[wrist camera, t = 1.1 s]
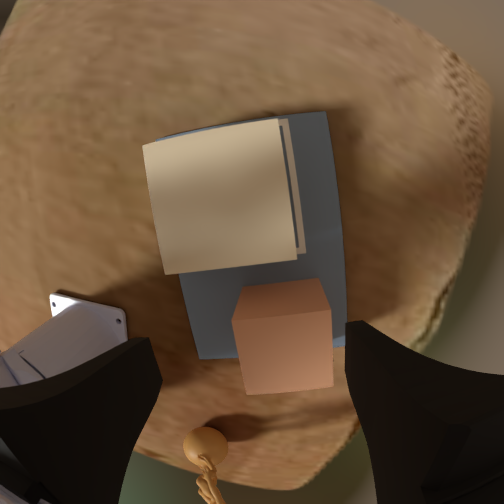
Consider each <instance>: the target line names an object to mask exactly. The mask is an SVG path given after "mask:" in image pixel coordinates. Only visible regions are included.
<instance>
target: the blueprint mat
mask: <svg viewBox="0 0 504 504" xmlns="http://www.w3.org/2000/svg"><path fill="white" fill-rule="evenodd" d="M277 118H278V123H279V129H280V136H281V142H282V148H283V155H284V162H285V168H286V175H287V182H288V189H289V197H290V204H291V212H292V219H293V227H294V235H295V244H296V252H297V260H289V261H281V262H272V263H264V264H256V265H248V266H239V267H231V268H222V269H213V270H205V271H196V272H187V273H178V274H179V278H180V283H181V287H182V292H183V296H184V300H185V305H186V309H187V313H188V317H189V321H190V325H191V329H192V333H193V337H194V341H195V344H196V348H197V352H198V356H199V359H223V358H239V356H238V351H237V346H236V341H235V336H234V331H233V326H232V321H231V320H232V317H233V314H234V311H235V308H236V305H237V302H238V299H239V296H240V293H241V290H242V287H245V286H254V285H263V284H272V283H280V282H288V281H297V280H305V279H312V278H319V280H320V283H321V285H322V288H323V290H324V293H325V295H326V298H327V300H328V303H329V305H330V308H331V317H332V342H333V348H334V347H341V346H345V323H347V298H346V277H345V260H344V246H343V234H342V223H341V213H340V204H339V195H338V187H337V179H336V171H335V164H334V157H333V150H332V144H331V138H330V132H329V126H328V120H327V115H326V111H322V112H310V113H300V114H290V115H282V116H274V117H266V118H259V119H253V120H246V121H240V122H234V123H229V124H223V125H218V126H213V127H208V128H203V129H198V130H194V131H189V132H185V133H180V134H176V135H172V136H168V137H164V138H160V139H156V142H157V141H161V140H165V139H169V138H173V137H178V136H182V135H186V134H191V133H195V132H200V131H205V130H210V129H215V128H220V127H225V126H231V125H237V124H243V123H249V122H255V121H262V120H269V119H277Z"/></svg>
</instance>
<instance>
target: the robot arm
mask: <svg viewBox="0 0 504 504" xmlns="http://www.w3.org/2000/svg"><path fill="white" fill-rule="evenodd" d="M50 303H51V309H52V315H53V317H52V318H51V319H49V320H48V321H47V322H45V323H44V324H42V325H41V326H40V327H38V328H37V329H35V330H34V331H32V332H31V333H30V334H28V335H27V336H26V337H24V338H23V339H21V340H20V341H19V342H17V343H16V344H15V345H13V346H12V347H11V348H9V349H8V350H6V351H4V352H2V353H1V351H0V504H118V502H119V497H120V492H121V488H122V484H123V480H124V476H125V472H126V469H127V466H128V463H129V460H130V456H131V454H132V451H133V448H134V446H135V444H136V441H137V439H138V437H139V435H140V433H141V431H142V429H143V427H144V425H145V423H146V421H147V419H148V417H149V415H150V413H151V411H152V409H153V407H154V405H155V403H156V401H157V398H158V395H159V392H160V388H161V385H162V381H163V379H162V376H161V374H160V371H159V368H158V365H157V362H156V359H155V356H154V353H153V350H152V346H151V343H150V340H149V338H133V339H130V340H128V337H127V327H126V315H125V312H124V311H123V310H122V309H120V308H116V307H111V306H107V305H102V304H98V303H94V302H90V301H85V300H81V299H77V298H73V297H69V296H66V295H62V294H58V293H52V294H50ZM118 319H120V320H121V322H119V320H118ZM345 374H346V378H347V383H348V388H349V392H350V395H351V398H352V401H353V404H354V407H355V409H356V412H357V415H358V418H359V421H360V423H361V426H362V429H363V432H364V435H365V438H366V441H367V445H368V448H369V453H370V458H371V463H372V469H373V475H374V482H375V488H376V496H377V504H504V375H497V374H488V373H482V372H476V371H471V370H466V369H462V368H458V367H454V366H451V365H448V364H444V363H442V362H439V361H436V360H434V359H431V358H428V357H426V356H424V355H421V354H419V353H417V352H415V351H413V350H411V349H409V348H407V347H405V346H403V345H402V344H400V343H398V342H396V341H395V340H393V339H391V338H390V337H388V336H386V335H385V334H383V333H382V332H380V331H379V330H377V329H375V328H374V327H372V326H371V325H369V324H368V323H366V322H364V321H362V320H360V321H354V322H347V323H345Z"/></svg>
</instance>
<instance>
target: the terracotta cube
mask: <svg viewBox="0 0 504 504" xmlns="http://www.w3.org/2000/svg"><path fill="white" fill-rule="evenodd" d="M231 321H232V326H233V331H234V336H235V341H236V346H237V351H238V356H239V361H240V366H241V371H242V375H243V380H244V385H245V389H246V394H247V395H256V394H271V393H283V392H293V391H303V390H311V389H319V388H326V387H333V342H332V317H331V308H330V305H329V303H328V300H327V298H326V295H325V293H324V290H323V288H322V285H321V283H320V280H319V278H312V279H305V280H297V281H288V282H280V283H272V284H263V285H254V286H245V287H242V290H241V293H240V296H239V299H238V302H237V305H236V308H235V311H234V314H233V317H232V320H231Z"/></svg>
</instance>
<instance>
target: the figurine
mask: <svg viewBox="0 0 504 504" xmlns="http://www.w3.org/2000/svg"><path fill="white" fill-rule="evenodd" d="M183 448H184V452H185V454H186V456H187V458H188V459H189V460H190V461H191V462H193V463H194V464H196V465H198V466H199V467H200V468H201V469H203V470H205V472H204V471H203V470H202V472H203V475H201V476H199V477H198V478H197V481H196V482H197V484H198V486H199V487H200V488H199V494H200V495H201V496H202V497H203V498H204V500H205V501H206V502H207V503H208V504H226V503H225V502H224V500H223V499H222V497H221V494H220V492H219V490H218V488H217V487H216V484H217V482H216V481H217V476H216V471H217V470H216V468H215V466H216V465H218V464H219V463H221V462H222V461H223V460H224V459H225V457H226V456H227V453H228V443H227V440H226V438H225V437H224V435H223V434H222V433H221V432H219V431H218V430H216V429H214V428H211V427H199V428H196V429H194V430H192V431H191V432H189V433H188V434H187V436H186V437H185V440H184V444H183Z"/></svg>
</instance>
